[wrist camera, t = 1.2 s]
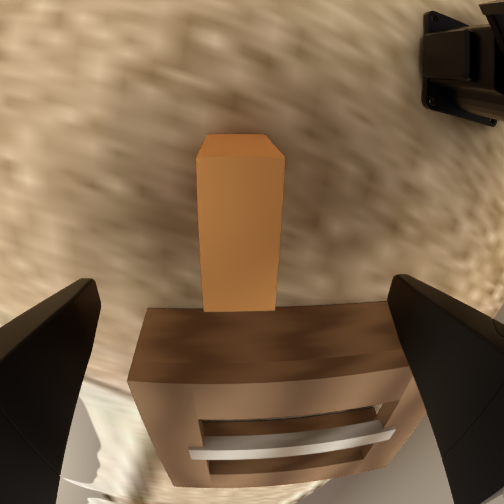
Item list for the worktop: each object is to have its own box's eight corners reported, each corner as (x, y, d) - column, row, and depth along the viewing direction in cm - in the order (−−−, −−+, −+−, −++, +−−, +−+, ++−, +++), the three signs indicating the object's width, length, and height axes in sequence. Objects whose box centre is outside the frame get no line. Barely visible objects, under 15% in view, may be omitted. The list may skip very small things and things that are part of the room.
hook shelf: (419, 298, 23) (462, 358, 17) (368, 417, 30) (386, 468, 24) (147, 308, 21) (126, 385, 15) (177, 431, 28) (173, 489, 22)
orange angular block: (264, 134, 16) (285, 157, 11) (260, 242, 19) (275, 310, 14) (207, 134, 16) (196, 157, 11) (210, 243, 19) (203, 311, 13)
